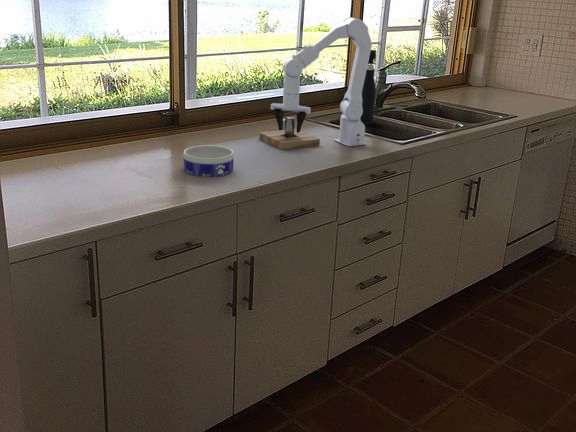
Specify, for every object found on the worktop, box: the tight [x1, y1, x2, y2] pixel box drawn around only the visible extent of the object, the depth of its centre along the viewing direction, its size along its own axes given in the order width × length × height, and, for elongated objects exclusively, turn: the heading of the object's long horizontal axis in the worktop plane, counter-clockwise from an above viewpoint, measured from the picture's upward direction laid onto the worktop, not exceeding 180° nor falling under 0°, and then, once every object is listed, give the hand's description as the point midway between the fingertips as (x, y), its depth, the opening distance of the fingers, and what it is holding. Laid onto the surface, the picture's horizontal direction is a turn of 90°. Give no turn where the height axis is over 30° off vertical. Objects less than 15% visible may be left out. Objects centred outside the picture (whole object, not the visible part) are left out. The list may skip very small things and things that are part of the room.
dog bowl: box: [182, 144, 235, 178], centre depth 196 cm, size 15×15×6 cm
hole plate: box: [258, 128, 321, 151], centre depth 232 cm, size 16×16×2 cm
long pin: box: [284, 116, 296, 138], centre depth 231 cm, size 4×4×9 cm
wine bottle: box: [360, 49, 377, 126], centre depth 263 cm, size 6×6×30 cm
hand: (289, 131), depth 231 cm, fingers open, 6 cm apart
